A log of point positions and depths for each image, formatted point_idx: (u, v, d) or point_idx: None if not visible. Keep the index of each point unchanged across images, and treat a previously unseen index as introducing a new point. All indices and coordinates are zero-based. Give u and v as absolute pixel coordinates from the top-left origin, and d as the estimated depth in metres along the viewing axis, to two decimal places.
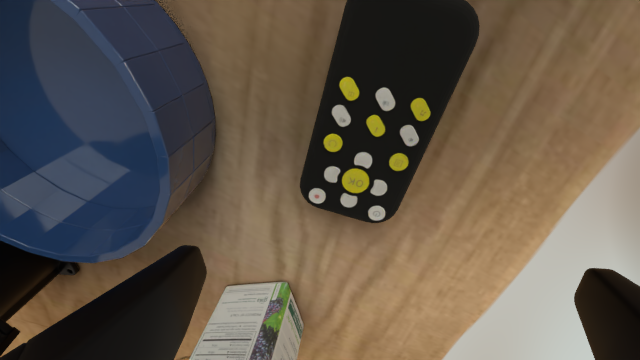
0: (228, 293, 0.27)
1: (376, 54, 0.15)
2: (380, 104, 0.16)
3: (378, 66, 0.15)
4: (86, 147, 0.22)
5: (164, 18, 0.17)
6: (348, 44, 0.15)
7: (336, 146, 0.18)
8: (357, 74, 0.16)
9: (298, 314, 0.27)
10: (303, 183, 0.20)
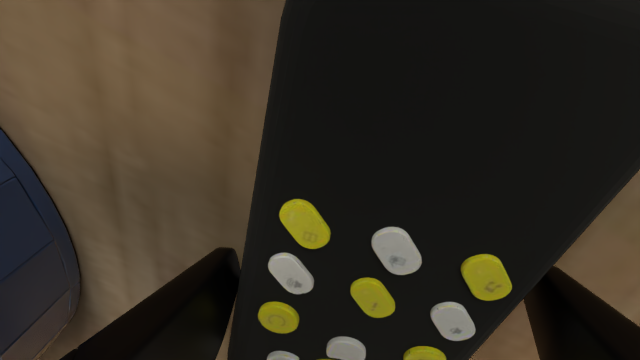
0: None
1: (372, 152, 0.05)
2: (384, 261, 0.07)
3: (378, 180, 0.06)
4: None
5: None
6: (295, 124, 0.05)
7: (286, 326, 0.08)
8: (324, 196, 0.06)
9: None
10: None
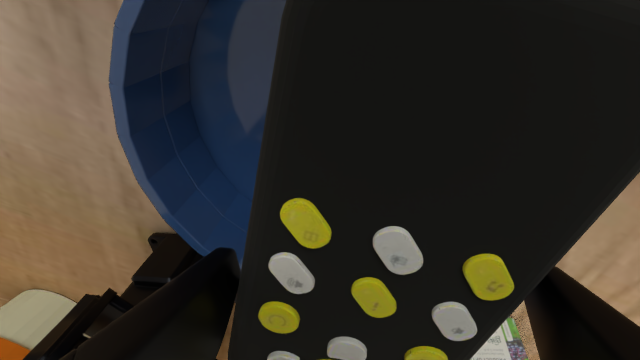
0: None
1: (374, 151, 0.05)
2: (385, 260, 0.06)
3: (380, 179, 0.06)
4: None
5: None
6: (296, 123, 0.05)
7: (287, 326, 0.08)
8: (325, 195, 0.06)
9: None
10: None
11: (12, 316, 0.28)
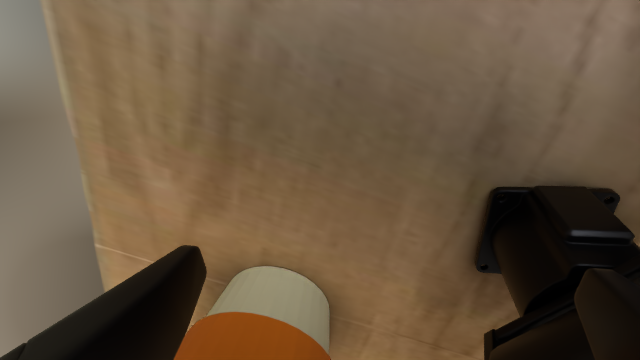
0: None
1: None
2: None
3: None
4: None
5: None
6: None
7: None
8: None
9: None
10: None
11: (267, 296, 0.23)
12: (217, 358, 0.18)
